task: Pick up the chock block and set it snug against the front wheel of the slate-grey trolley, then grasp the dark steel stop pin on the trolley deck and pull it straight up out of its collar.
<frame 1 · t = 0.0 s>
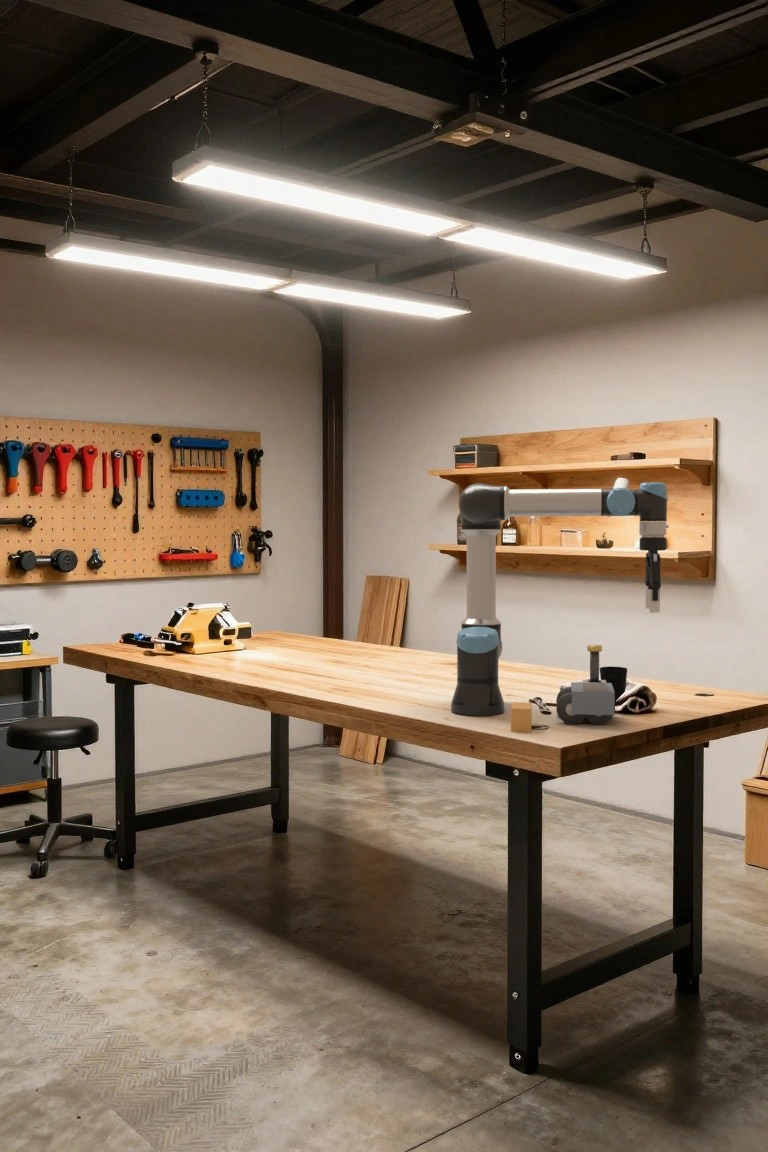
hand: (652, 610, 295), 28 cm above the table, fingers open, 13 cm apart
trolley: (590, 720, 278), on the table
pin: (594, 667, 274), point 15 cm above the table, slide at 0.0 cm
cup: (613, 710, 292), on the table
chock: (521, 728, 268), on the table
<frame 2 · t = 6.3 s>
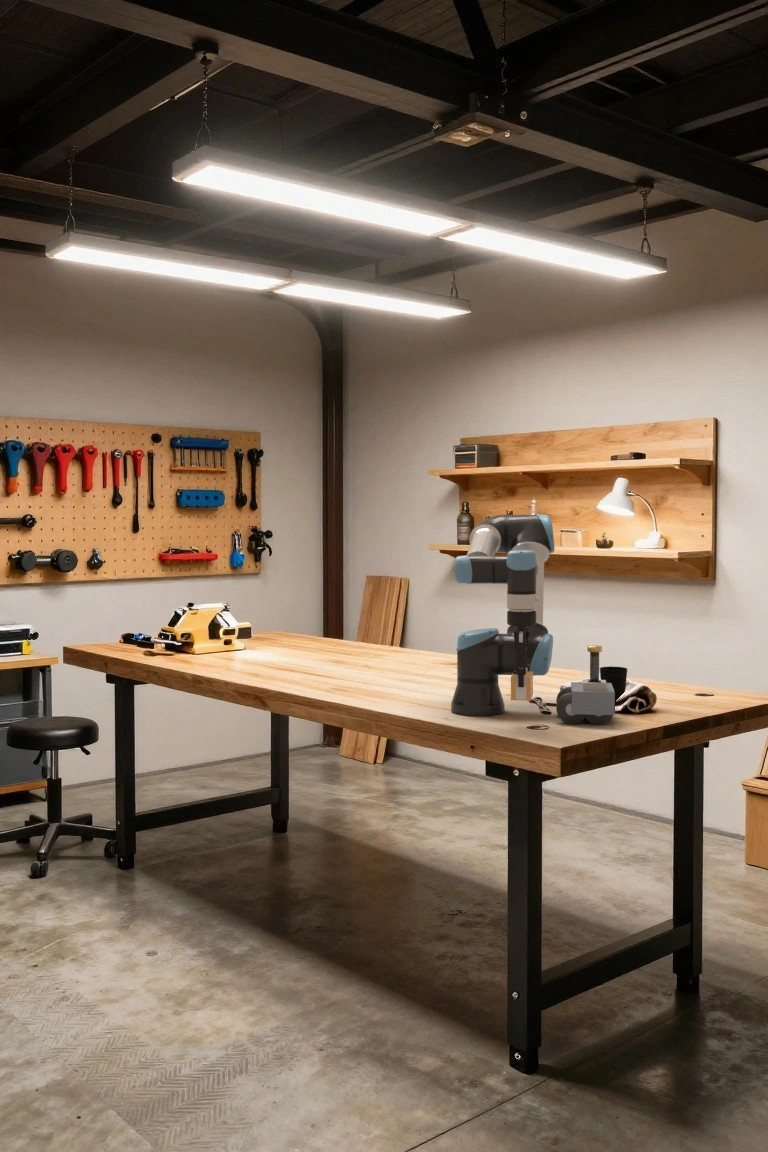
hand: (521, 695, 268), 8 cm above the table, fingers closed on chock, 9 cm apart
chock: (522, 697, 268), point 8 cm above the table, touching gripper
everything else where it was.
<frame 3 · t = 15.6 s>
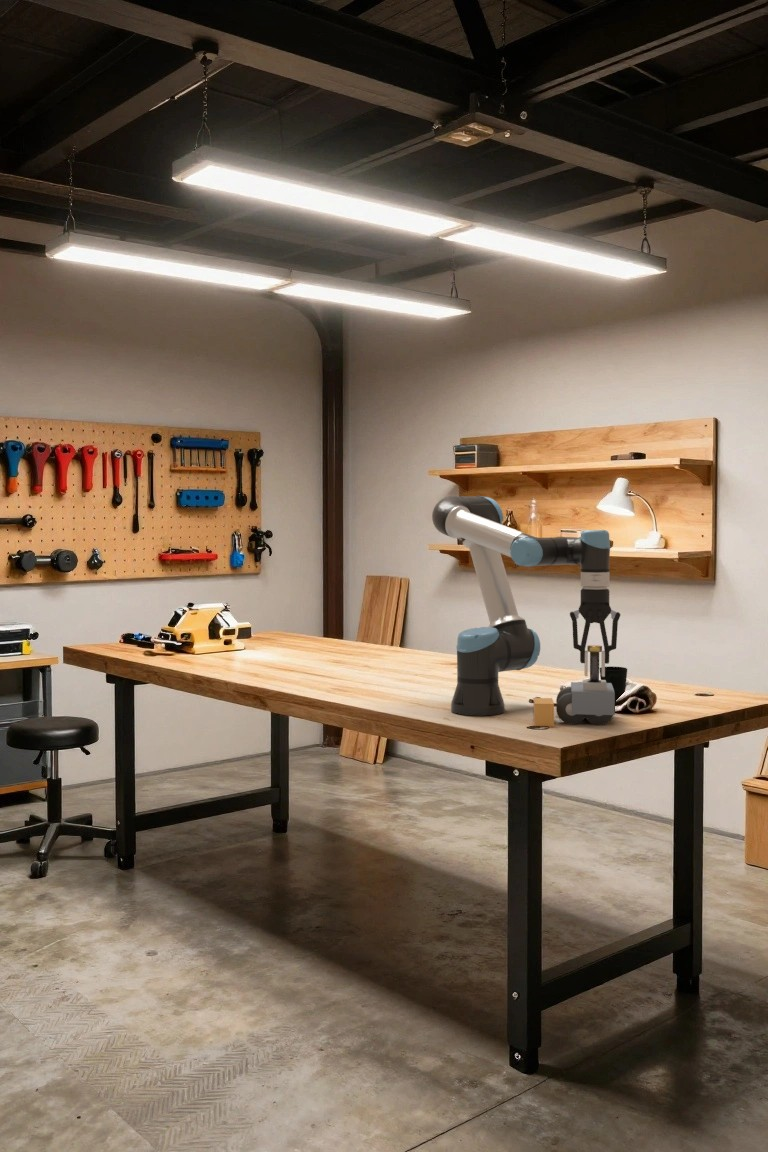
hand: (594, 675, 274), 13 cm above the table, fingers closed on pin, 4 cm apart
pin: (594, 667, 274), point 15 cm above the table, slide at -0.1 cm, touching gripper
chock: (543, 723, 275), on the table
everything else where it was.
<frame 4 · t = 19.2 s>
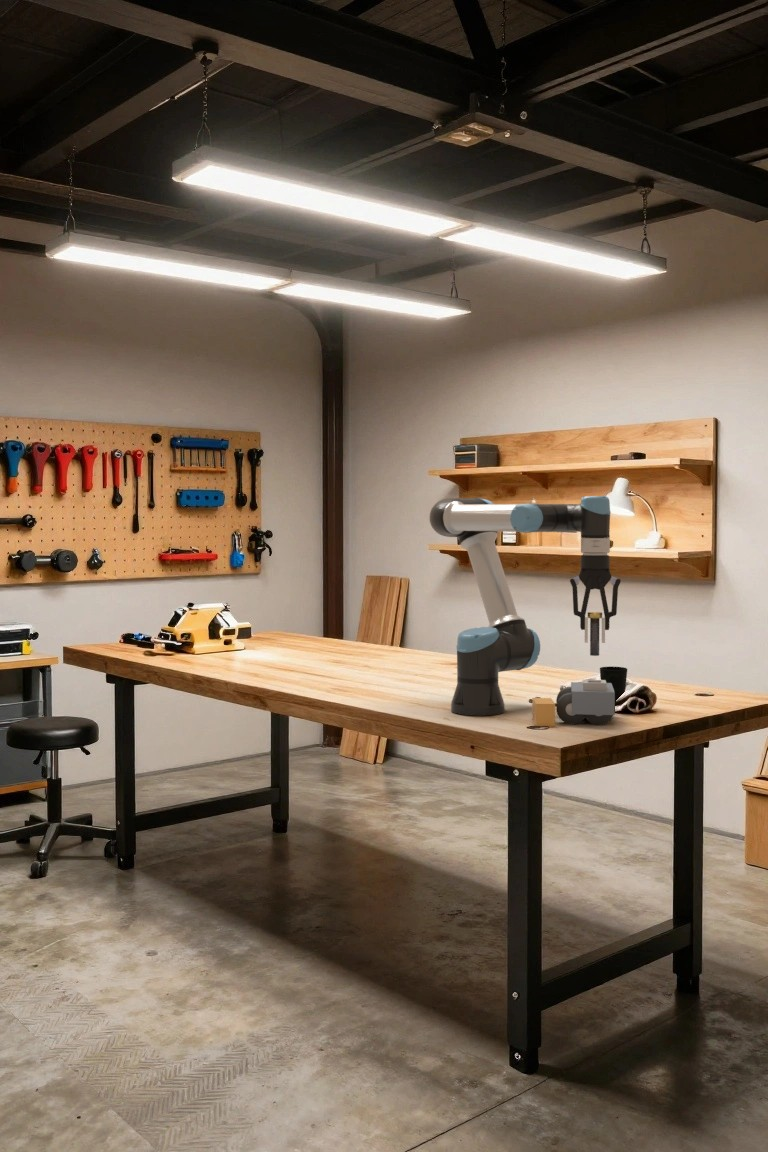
hand: (594, 642, 274), 22 cm above the table, fingers closed on pin, 4 cm apart
pin: (594, 633, 274), point 24 cm above the table, slide at 8.9 cm, touching gripper
everything else where it was.
at the end: chock inside the target area on the table beside the trolley (0.3 cm from its centre), on the table; chock tilted 0°; pin slide at 8.9 cm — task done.
